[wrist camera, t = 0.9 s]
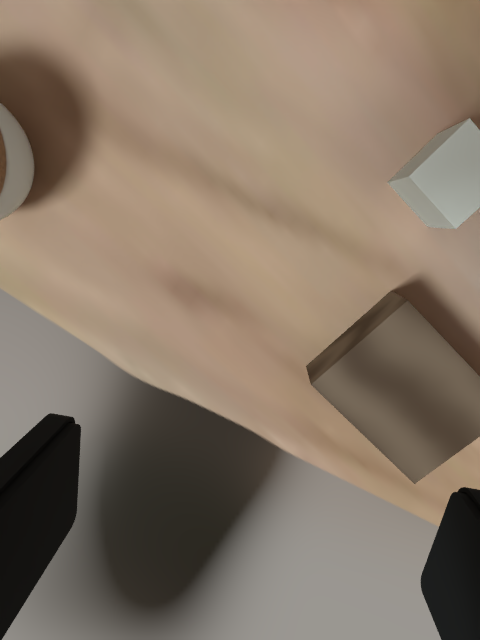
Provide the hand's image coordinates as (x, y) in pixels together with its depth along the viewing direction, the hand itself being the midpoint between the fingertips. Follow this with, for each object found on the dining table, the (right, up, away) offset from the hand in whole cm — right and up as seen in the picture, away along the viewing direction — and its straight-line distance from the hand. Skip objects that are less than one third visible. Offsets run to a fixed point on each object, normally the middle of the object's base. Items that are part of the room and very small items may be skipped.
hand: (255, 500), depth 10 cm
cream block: (+15, +16, +22) cm, 31 cm away
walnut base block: (+14, -1, +26) cm, 29 cm away
